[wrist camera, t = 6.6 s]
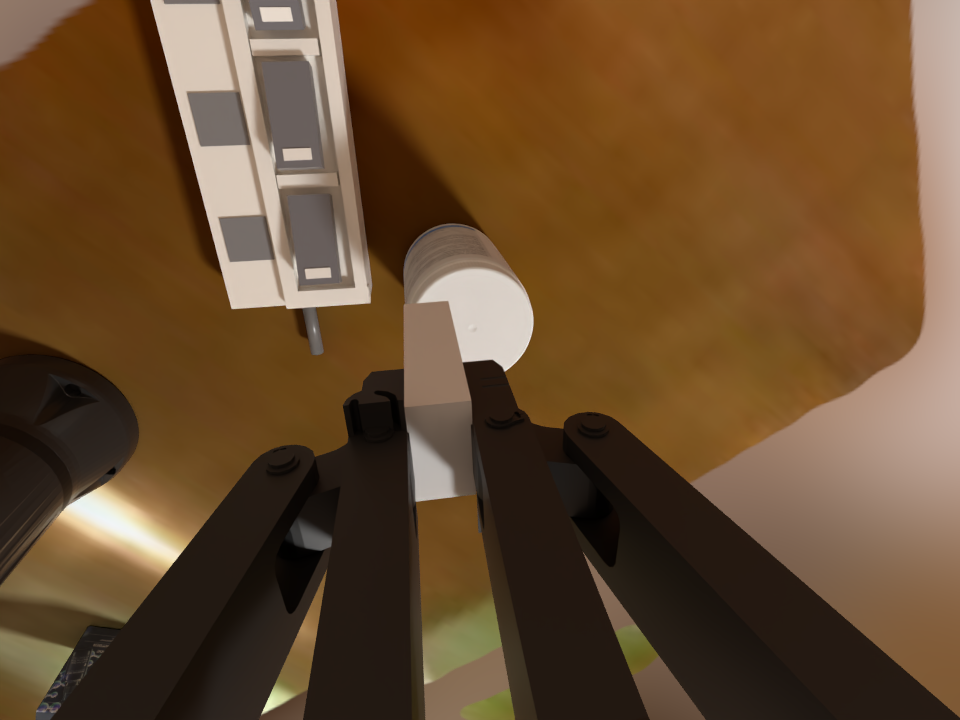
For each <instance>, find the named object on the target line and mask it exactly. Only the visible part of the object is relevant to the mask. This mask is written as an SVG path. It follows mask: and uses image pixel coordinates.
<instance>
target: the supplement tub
mask: <svg viewBox="0 0 960 720" xmlns="http://www.w3.org/2000/svg"><path fill="white" fill-rule="evenodd" d="M404 293H405V304H414V303H427V302H440V301H448V302H449V306H450V310H451V315H452V319H453V323H454V328H455V332H456V336H457V341H458V345H459V349H460V354H461V358H462V362H471V361H482V360H494V361H495V362H497V363H498V364H499V365H501V366H502V367H503V369H504V371H506V370H507V369H509V368H510V367H511V366H512V365H513V364H515V362H516V361H517V360H518V359H519V358H520V357H521V356H522V354H523V353H524V351H525V350H526V348H527V346H528V344H529V341H530V338H531V335H532V331H533V312H532V307H531V304H530V301H529V298H528V295H527V293H526V291H525V289H524V287H523V285H522V284H521V282H520V281H519V279H518V278H517V276H516V275H515V274H514V272H513V271H512V269H511V268H510V267H509V265H508V264H507V262H506V261H505V260H504V258H503V257H502V255H501V254H500V253H499V251H498V250H497V249H496V247H495V246H494V245H493V243H492V242H491V241H490V240H489V238H488V237H487V236H486V235H484V234H483V233H482V232H480V231H479V230H477V229H475V228H473V227H470V226H467V225H463V224H443V225H439V226H436V227H433V228H431V229H429V230H427V231H426V232H424V233H423V234H422V235H420V236H419V237H418V238H417V239H416V240H415V241H414V243H413V244H412V245H411V247H410V249H409V251H408V253H407V255H406V258H405V263H404Z"/></svg>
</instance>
